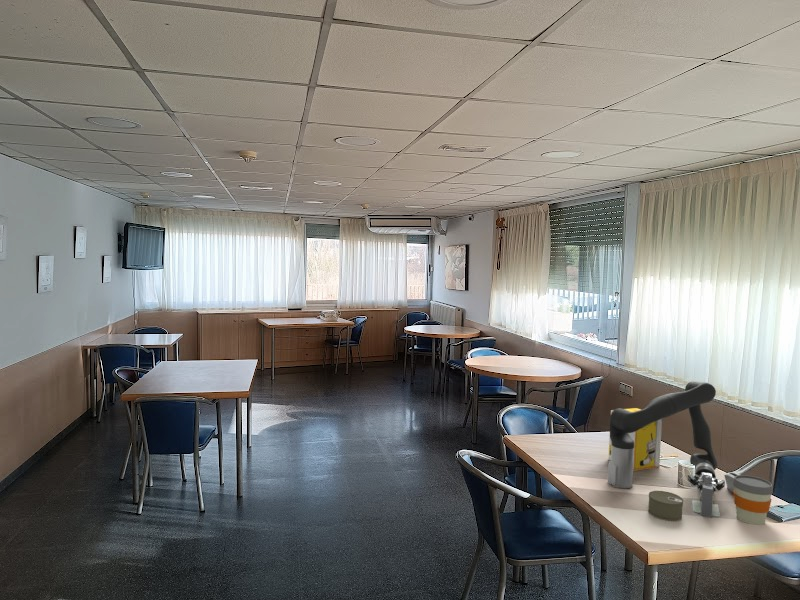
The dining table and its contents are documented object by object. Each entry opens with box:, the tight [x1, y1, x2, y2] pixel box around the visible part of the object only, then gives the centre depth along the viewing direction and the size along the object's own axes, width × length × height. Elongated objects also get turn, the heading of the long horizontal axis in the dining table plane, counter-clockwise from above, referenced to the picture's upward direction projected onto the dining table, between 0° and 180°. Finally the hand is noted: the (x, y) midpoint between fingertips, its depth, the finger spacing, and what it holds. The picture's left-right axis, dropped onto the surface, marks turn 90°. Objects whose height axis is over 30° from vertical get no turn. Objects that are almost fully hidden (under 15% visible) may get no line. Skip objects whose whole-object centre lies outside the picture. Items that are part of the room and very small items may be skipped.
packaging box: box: [608, 407, 663, 472], centre depth 258 cm, size 16×16×25 cm
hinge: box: [724, 471, 741, 493], centre depth 222 cm, size 17×5×10 cm, turn 177°
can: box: [647, 490, 684, 522], centre depth 203 cm, size 12×12×7 cm
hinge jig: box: [691, 483, 721, 519], centre depth 208 cm, size 14×9×11 cm, turn 152°
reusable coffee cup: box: [733, 474, 774, 526], centre depth 200 cm, size 13×13×15 cm
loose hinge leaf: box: [700, 472, 712, 503], centre depth 210 cm, size 3×6×11 cm, turn 152°
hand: (707, 488), depth 208 cm, fingers closed on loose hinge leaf, 3 cm apart
